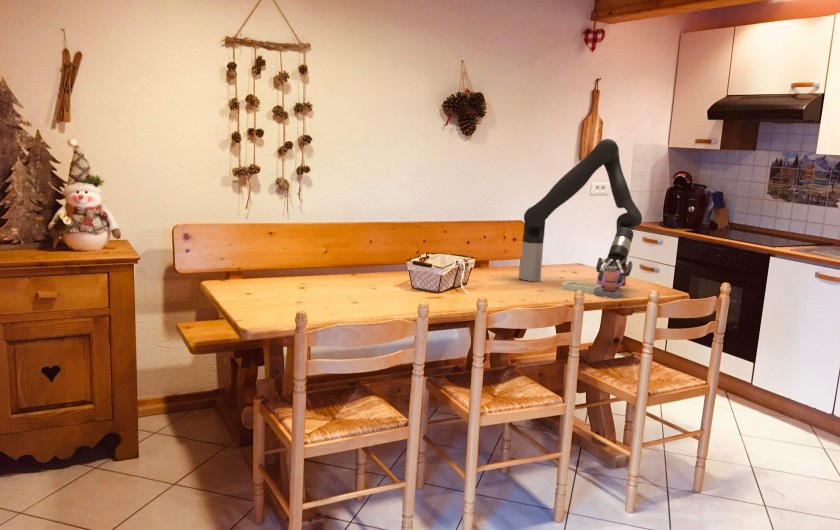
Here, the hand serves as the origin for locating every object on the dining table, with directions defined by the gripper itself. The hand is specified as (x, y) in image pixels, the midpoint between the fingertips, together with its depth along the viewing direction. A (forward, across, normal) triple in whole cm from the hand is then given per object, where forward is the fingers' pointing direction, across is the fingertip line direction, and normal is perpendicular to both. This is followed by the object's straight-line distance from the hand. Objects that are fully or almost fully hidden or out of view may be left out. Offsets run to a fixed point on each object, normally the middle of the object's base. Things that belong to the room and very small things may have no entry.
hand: (609, 281), depth 286 cm
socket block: (+4, 0, +6) cm, 7 cm away
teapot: (-10, -5, +20) cm, 23 cm away
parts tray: (+1, -13, +9) cm, 16 cm away
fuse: (+3, 0, +5) cm, 6 cm away
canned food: (-19, -6, +30) cm, 36 cm away
